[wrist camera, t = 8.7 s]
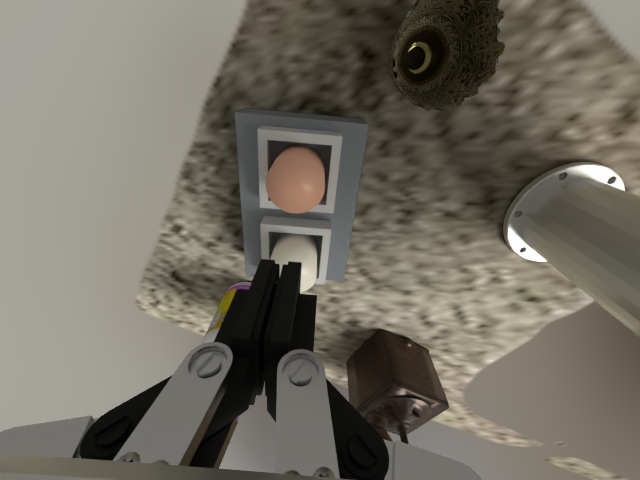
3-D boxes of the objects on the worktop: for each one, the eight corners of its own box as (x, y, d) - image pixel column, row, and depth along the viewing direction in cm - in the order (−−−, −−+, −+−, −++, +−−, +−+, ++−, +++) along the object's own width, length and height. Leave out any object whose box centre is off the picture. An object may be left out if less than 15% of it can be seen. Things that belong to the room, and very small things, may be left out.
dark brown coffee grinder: (432, 347, 46) (488, 484, 30) (391, 381, 51) (421, 514, 35) (356, 312, 42) (375, 449, 27) (319, 352, 47) (317, 488, 31)
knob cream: (319, 230, 30) (318, 256, 26) (315, 266, 32) (314, 295, 28) (274, 227, 30) (266, 252, 26) (275, 263, 32) (267, 291, 28)
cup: (456, 91, 27) (502, 96, 20) (381, 111, 28) (400, 123, 21) (456, -6, 23) (513, -41, 16) (370, 21, 24) (388, -2, 17)
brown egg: (326, 145, 25) (327, 159, 21) (322, 194, 28) (322, 215, 24) (275, 141, 25) (264, 153, 21) (274, 190, 28) (266, 211, 23)
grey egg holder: (363, 118, 28) (372, 127, 23) (341, 262, 37) (344, 292, 32) (245, 108, 28) (227, 114, 23) (252, 255, 37) (241, 284, 32)
